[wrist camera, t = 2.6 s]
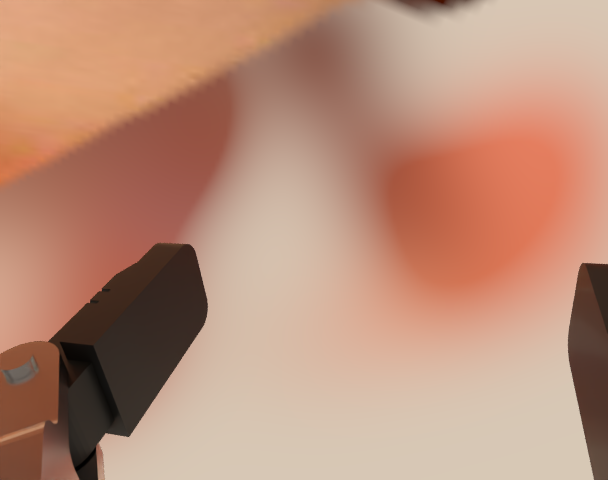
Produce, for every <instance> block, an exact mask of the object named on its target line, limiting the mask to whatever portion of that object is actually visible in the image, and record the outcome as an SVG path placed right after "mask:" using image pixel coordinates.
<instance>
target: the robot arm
mask: <svg viewBox="0 0 608 480" xmlns="http://www.w3.org/2000/svg"><path fill="white" fill-rule="evenodd" d="M207 308H208V303H207V297H206V293H205V289H204V285H203V281H202V277H201V272H200V268H199V264H198V260H197V256H196V253H195V250H194V248H193V247H192V246H191V245H189V244H172V243H157V244H155V245H154V246H153V247H152V248H151V249H150V250H149V251H148V252H147V253H146V254H145V255H144V256H143V257H142V258H141V259H140V260H139V261H138V262H137V263H135V264H133V265H132V266H130V267H128V268H126V269H125V270H123V271H121V272H120V273H118V274H116V275H115V276H114V277H113V278H112V279H111V280H110V281H109V282H108V283H107V284H106V285H105V286H104V287H103V288H102V291H99V292H98V293H97V294H96V295H95V296H94V297H93V298H92V299H91V300H90V303H87V304H86V305H85V306H84V307H83V308H82V309H81V310H80V311H79V312H78V313H77V314H76V315H75V316H73V317H72V318H71V319H70V321H68V322H67V323H66V324H65V325H64V326H63V327H62V329H61V330H59V331H58V332H57V333H56V334H55V335H54V337H52V338H51V339H50V340H49V341H48V342H44V341H35V342H29V343H25V344H21V345H18V346H16V347H13V348H11V349H9V350H7V351H5V352H3V353H1V354H0V480H105V476H104V462H103V452H102V449H101V447H100V444H99V441H100V440H101V439H102V437H103V436H104V435H105V433H108V434H114V435H120V436H126V437H129V436H130V435H131V433H132V432H133V430H134V429H135V427H136V426H137V424H138V423H139V421H140V420H141V418H142V417H143V415H144V414H145V412H146V411H147V409H148V408H149V406H150V405H151V403H152V402H153V400H154V399H155V397H156V396H157V394H158V393H159V391H160V390H161V388H162V387H163V385H164V384H165V382H166V381H167V380H168V378H169V376H170V375H171V374H172V372H173V371H174V369H175V368H176V366H177V365H178V363H179V362H180V360H181V359H182V357H183V356H184V354H185V353H186V351H187V350H188V348H189V347H190V345H191V344H192V342H193V341H194V339H195V338H196V336H197V335H198V333H199V332H200V330H201V329H202V327H203V326H204V323H205V320H206V317H207V310H208V309H207ZM568 353H569V362H570V367H571V372H572V377H573V382H574V386H575V391H576V396H577V401H578V405H579V410H580V415H581V419H582V424H583V429H584V434H585V439H586V443H587V448H588V453H589V457H590V462H591V467H592V471H593V476H594V480H608V264H591V263H582V264H581V266H580V269H579V273H578V278H577V284H576V290H575V296H574V302H573V308H572V314H571V320H570V326H569V335H568Z"/></svg>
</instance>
